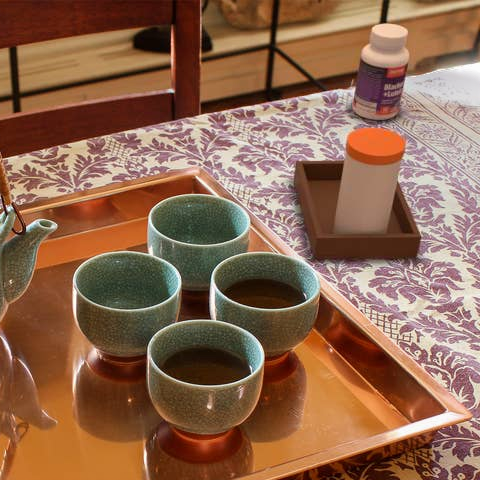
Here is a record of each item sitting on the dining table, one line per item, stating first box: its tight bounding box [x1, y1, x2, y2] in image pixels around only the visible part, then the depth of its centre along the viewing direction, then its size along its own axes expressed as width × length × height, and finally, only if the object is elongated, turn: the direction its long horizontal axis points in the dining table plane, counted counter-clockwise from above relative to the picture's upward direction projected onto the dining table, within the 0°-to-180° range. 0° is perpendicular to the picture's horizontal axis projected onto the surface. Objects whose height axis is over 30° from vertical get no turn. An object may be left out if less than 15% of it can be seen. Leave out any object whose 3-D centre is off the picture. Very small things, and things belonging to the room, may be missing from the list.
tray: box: [293, 160, 422, 261], centre depth 93 cm, size 14×10×2 cm
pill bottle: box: [352, 23, 410, 121], centre depth 108 cm, size 5×5×10 cm
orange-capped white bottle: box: [333, 127, 407, 234], centre depth 88 cm, size 5×5×10 cm
